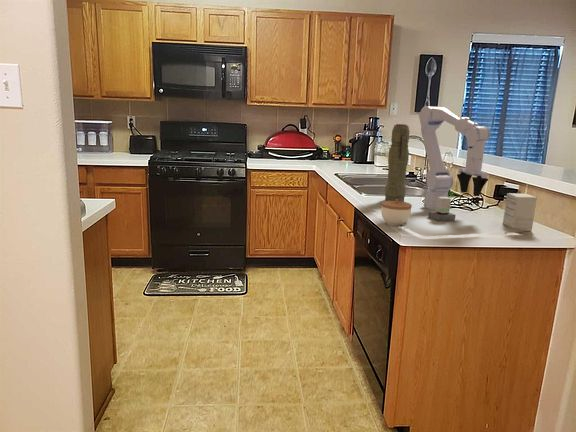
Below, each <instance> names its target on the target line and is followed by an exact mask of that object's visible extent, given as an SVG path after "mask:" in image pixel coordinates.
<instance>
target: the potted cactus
mask: <svg viewBox="0 0 576 432" xmlns="http://www.w3.org/2000/svg"><path fill="white" fill-rule="evenodd" d="M391 132H392V133H391V140H390V142H391V144H390V147H389V151H388V158H387V159H388V160H387V164H388V171H387V183H386V185H385V191H384V192H385V193H384V195H385V197H384V198H385V199H384V201H395V200H396V199H398V201H401V202H405V197H406V188H407V187H406V177H407V176H406V175H407V174H406V173H407V166H408V164H409V155H410V150H409V142H410V139H409V138H410V126H409V125H408V124H403V123H396V124H395V125H394V126H393V128H392V131H391Z"/></svg>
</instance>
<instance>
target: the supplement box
mask: <svg viewBox="0 0 576 432" xmlns="http://www.w3.org/2000/svg"><path fill="white" fill-rule="evenodd" d="M537 199H538V197H537V196H534V195H533V194H532V195H531V194H528V193H517V192H516V193H515V192H514V193H511V192H509V193H508V192H507V193H506V199H505V205H504V206H505V207H504V213H503V220H502V224H504V225H505V226H507V227H510V228H512V229H517V230H520V231H523V232H532V230H533V223H534V218H535V212H536V205H537Z"/></svg>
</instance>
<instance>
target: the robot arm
mask: <svg viewBox="0 0 576 432" xmlns="http://www.w3.org/2000/svg"><path fill="white" fill-rule="evenodd" d="M418 119H419V123H420V131H421V136H422V140H423V145H424V148H425V152H426V157H427V161H428V166H429V170H428V172H427V173H426V174H425V177H426V187H427V188H428V189H427V190H426V191H425V193H424V198H423V199H424V200H423V207H422V206H421V208H422V209H423V208H427V209H428V210H429V211H435V208H436V200H437V197H447V198H448V194H449V192H450V189H451V188H453V185H454V178H453V175H452V174H451V172H450V170H449V169H448V168H446V167H445V166H444V163H443V162H444V161H443V158H442V153H441V150H440V146H439V142H438V138H437V133H436V131H437V130H438V129H439V128H440V127H441V125H442V124H443V123H444V121H445V122H446V123H448V124H451V125H452V126H454V130H455V131H456V132H458V133H459V134H461V135H463V136H464V137H465V139H466V141H467V142H466V145H467V151H466V160H465V161H466V162H465V167H459V168H458V173H457V174H456V176H457V179H458V182H459V187H460V192H461V193H467V192H468V187H469V184H470V180H471V179H472V182H473V184H472V185H473V191H472V192H473V193H472V194H473V197H480V195H481V192H482V191H483V188H484V187H485V185H486V183H487V182H488V181H489V178H488V177H489V173H488V172H487V171H483V170H482V168H483V160H484V152H485V146H486V141H488V140H489V138H490V135H491V132H490V129H489V128H488V127H487V126H486V125H481V126H480V124H479V123H478V122H473V121H472V120H470V117H467V116H465V117H458V115H456V114H454V113H453V112H451V111H450V110H449V108H446V107H444V106H428V105H425V106H423V107H422V108H421V110H420V111H419V115H418Z"/></svg>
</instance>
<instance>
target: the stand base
mask: <svg viewBox="0 0 576 432" xmlns="http://www.w3.org/2000/svg"><path fill="white" fill-rule="evenodd" d="M427 217H428V218H429V219H431V220H433V221H436V222H439V223H440V222H443V223H444V222H455V221H456V214H455V213H452V212H450V211H449V213H439V212H436V211H435V210H428V216H427Z"/></svg>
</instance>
